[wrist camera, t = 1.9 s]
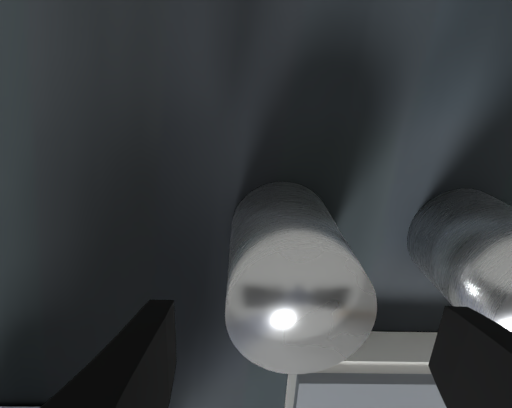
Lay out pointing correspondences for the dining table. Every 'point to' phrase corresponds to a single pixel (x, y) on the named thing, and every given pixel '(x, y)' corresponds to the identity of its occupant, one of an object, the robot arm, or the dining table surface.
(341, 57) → the dining table surface
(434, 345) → the robot arm
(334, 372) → the grey boxy piece
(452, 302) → the cylinder
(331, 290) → the steel weight
